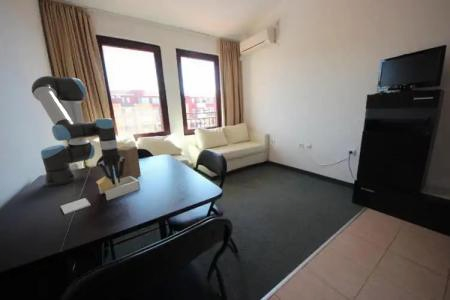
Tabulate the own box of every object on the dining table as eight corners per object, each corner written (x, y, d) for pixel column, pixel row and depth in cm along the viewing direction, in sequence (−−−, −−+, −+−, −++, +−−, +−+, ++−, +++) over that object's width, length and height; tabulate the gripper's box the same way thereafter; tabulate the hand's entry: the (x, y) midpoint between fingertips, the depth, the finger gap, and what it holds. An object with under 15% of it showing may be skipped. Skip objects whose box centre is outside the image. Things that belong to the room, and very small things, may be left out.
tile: (60, 207, 91) (60, 205, 91) (85, 199, 98) (85, 197, 98) (64, 214, 85) (64, 213, 85) (90, 205, 92) (90, 204, 92)
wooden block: (131, 180, 121) (126, 150, 116) (118, 179, 123) (112, 149, 118) (141, 174, 131) (136, 146, 126) (128, 173, 133) (123, 146, 128)
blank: (105, 194, 103) (95, 181, 99) (114, 188, 106) (105, 176, 101) (108, 197, 100) (98, 184, 95) (117, 190, 103) (108, 178, 98)
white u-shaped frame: (100, 193, 104) (98, 185, 103) (131, 183, 116) (130, 175, 115) (107, 200, 96) (105, 191, 95) (140, 188, 108) (138, 180, 107)
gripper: (97, 151, 92) (106, 195, 98) (125, 146, 101) (132, 186, 107) (93, 149, 97) (101, 191, 103) (119, 144, 106) (126, 183, 112)
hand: (117, 188), depth 105 cm, fingers closed
